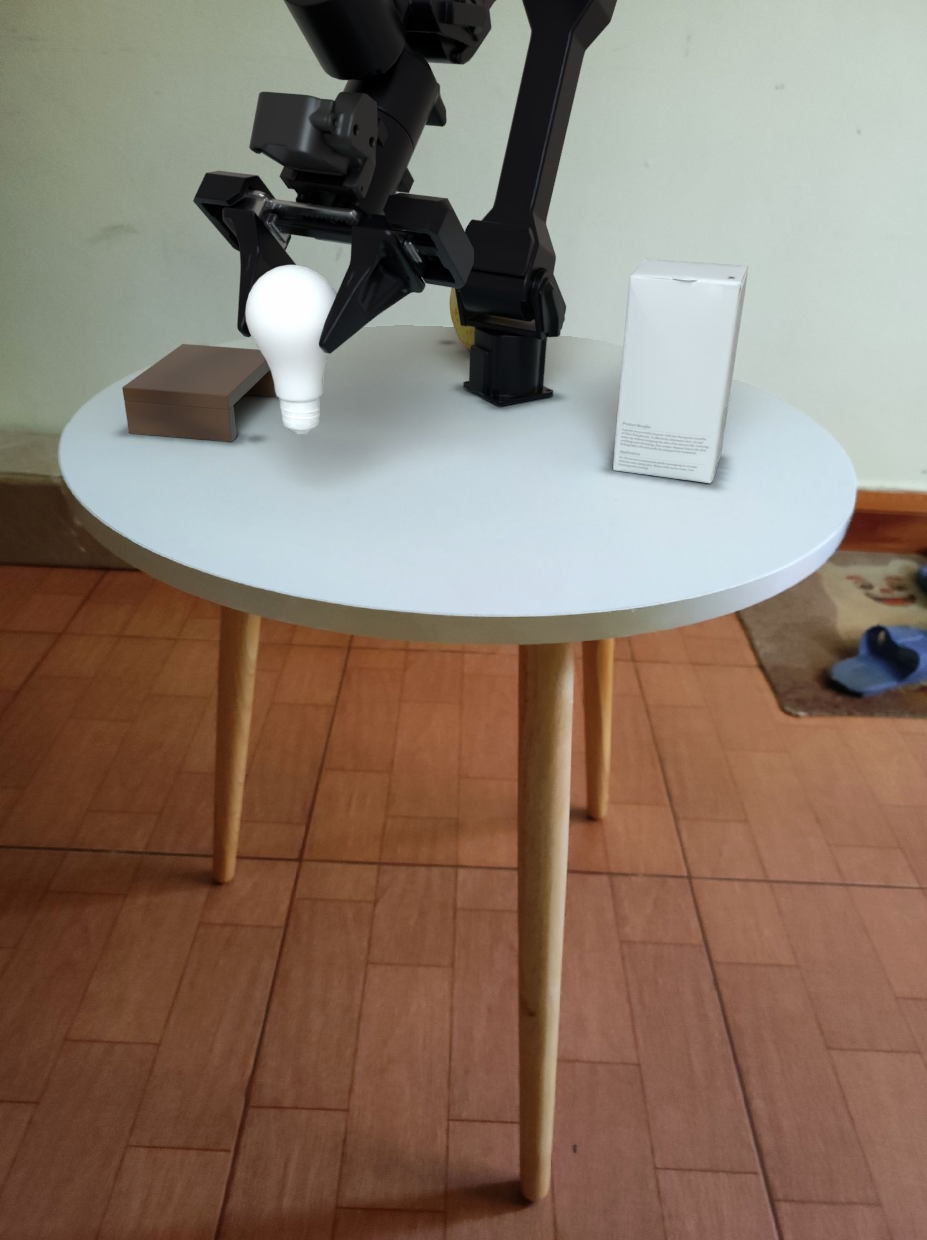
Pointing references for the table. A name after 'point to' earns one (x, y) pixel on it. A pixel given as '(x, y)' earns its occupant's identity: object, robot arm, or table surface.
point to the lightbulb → (292, 338)
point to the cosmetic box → (677, 367)
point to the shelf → (195, 392)
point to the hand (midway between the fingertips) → (282, 341)
